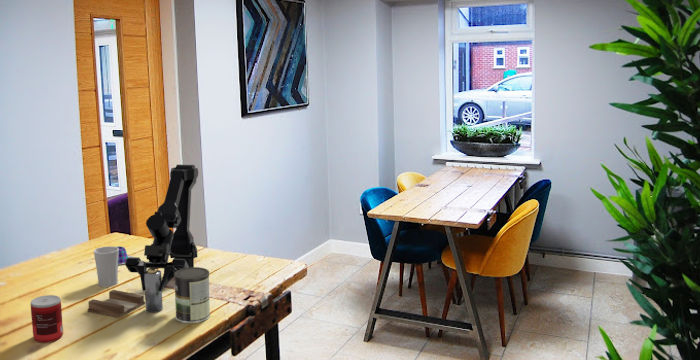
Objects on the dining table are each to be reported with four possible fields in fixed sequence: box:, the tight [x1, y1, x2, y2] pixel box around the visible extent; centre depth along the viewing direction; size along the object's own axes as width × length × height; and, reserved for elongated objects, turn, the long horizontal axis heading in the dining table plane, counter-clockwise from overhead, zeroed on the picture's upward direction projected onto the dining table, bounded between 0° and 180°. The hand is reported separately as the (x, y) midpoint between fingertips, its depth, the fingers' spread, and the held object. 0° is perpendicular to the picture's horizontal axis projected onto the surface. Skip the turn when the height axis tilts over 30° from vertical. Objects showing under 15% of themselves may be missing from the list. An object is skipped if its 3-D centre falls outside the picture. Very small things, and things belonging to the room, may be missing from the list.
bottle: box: [144, 268, 164, 313], centre depth 206 cm, size 5×5×13 cm
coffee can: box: [173, 266, 211, 324], centre depth 201 cm, size 10×10×14 cm
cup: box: [93, 246, 119, 288], centre depth 227 cm, size 8×8×12 cm
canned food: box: [30, 294, 64, 344], centre depth 185 cm, size 8×8×11 cm
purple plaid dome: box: [116, 246, 134, 266], centre depth 252 cm, size 12×12×5 cm
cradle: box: [87, 289, 146, 318], centre depth 208 cm, size 12×12×3 cm
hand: (151, 290), depth 204 cm, fingers closed on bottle, 5 cm apart
